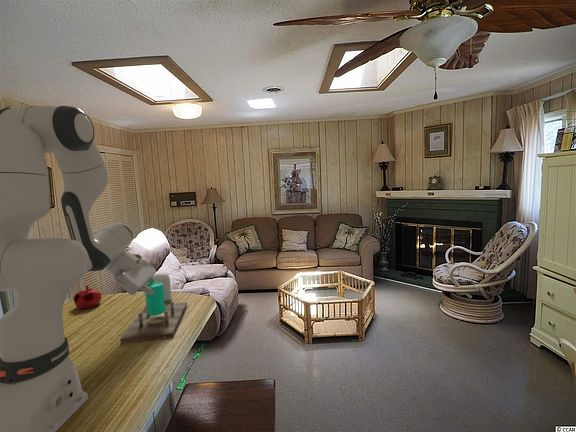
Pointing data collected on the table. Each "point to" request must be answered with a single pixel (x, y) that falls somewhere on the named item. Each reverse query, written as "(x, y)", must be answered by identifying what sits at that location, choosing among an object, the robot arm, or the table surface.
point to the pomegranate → (87, 298)
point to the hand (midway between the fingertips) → (156, 290)
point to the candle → (155, 299)
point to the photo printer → (166, 284)
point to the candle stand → (155, 324)
